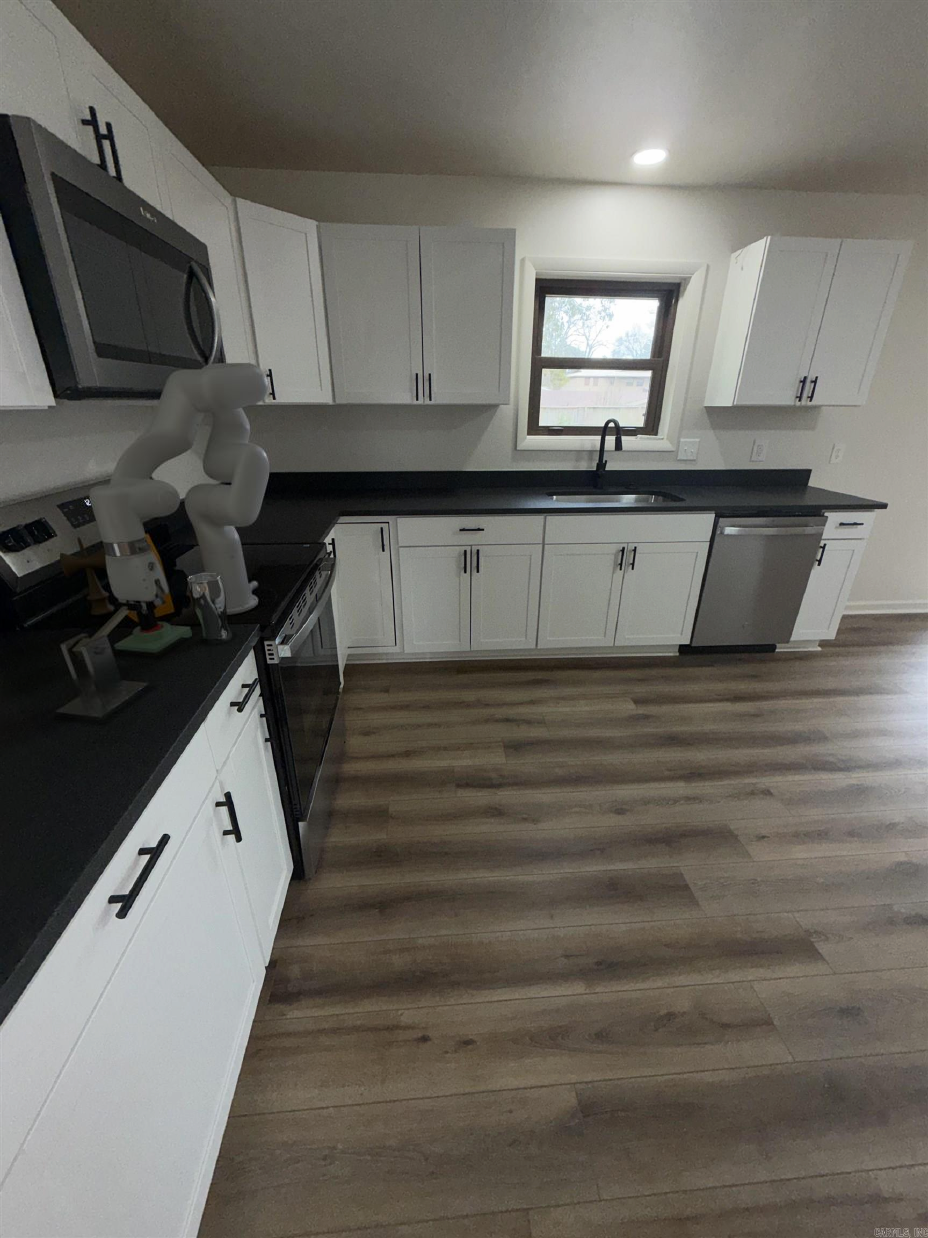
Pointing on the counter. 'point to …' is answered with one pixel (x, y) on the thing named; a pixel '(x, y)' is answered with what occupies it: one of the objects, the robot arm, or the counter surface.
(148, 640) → the button block
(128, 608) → the stove lever
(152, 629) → the button
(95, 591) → the kendama
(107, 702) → the lever bracket
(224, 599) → the beer glass
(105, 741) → the counter surface
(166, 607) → the orange juice
